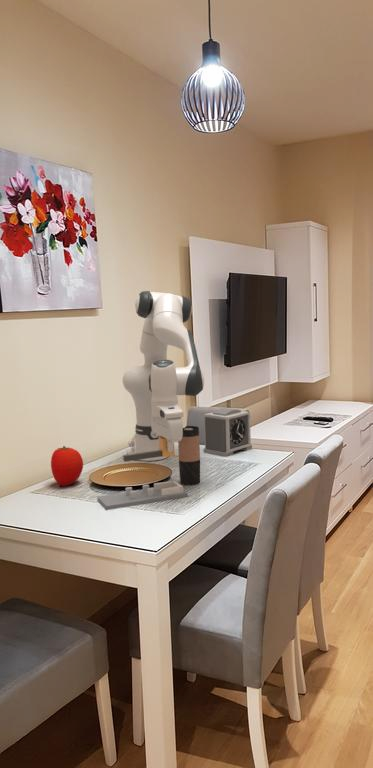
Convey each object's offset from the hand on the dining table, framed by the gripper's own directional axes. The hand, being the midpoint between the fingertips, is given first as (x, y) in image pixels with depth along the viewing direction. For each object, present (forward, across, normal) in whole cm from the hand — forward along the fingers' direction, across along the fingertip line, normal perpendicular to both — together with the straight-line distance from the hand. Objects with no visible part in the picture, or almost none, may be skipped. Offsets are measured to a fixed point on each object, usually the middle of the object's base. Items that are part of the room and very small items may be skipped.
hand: (166, 449), depth 209 cm
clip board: (+15, 0, -9) cm, 18 cm away
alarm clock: (+16, -45, +45) cm, 66 cm away
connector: (+2, 0, -7) cm, 7 cm away
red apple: (+16, -29, -28) cm, 43 cm away
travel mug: (+16, -9, +12) cm, 22 cm away
